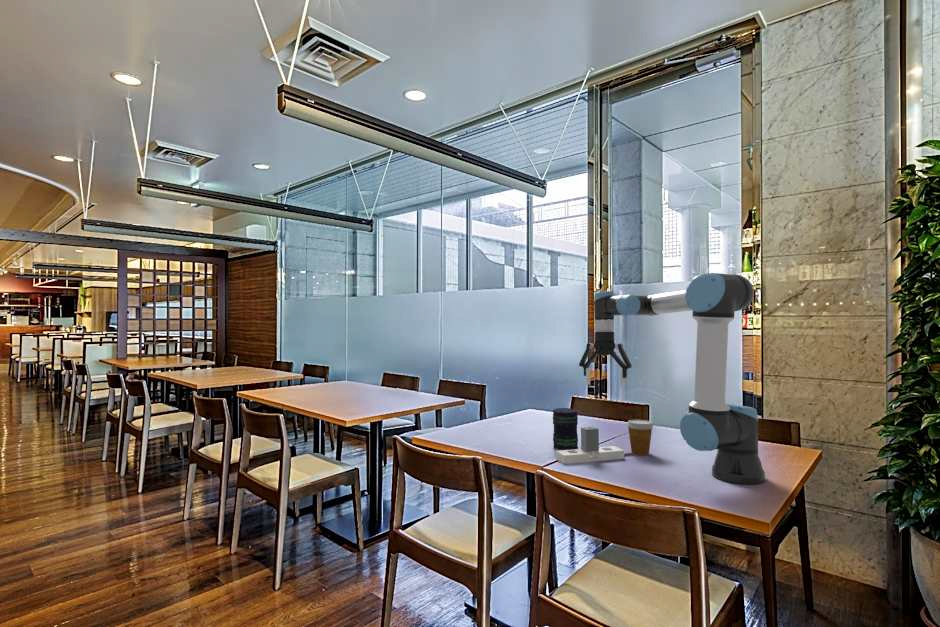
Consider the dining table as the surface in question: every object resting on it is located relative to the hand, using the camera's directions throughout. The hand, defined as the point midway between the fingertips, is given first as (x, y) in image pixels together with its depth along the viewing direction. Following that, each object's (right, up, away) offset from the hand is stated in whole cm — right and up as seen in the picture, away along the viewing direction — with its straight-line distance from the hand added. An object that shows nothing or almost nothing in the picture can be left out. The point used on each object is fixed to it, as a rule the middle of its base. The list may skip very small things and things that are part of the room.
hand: (605, 385), depth 200 cm
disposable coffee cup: (+12, -25, -5) cm, 28 cm away
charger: (-9, -24, -12) cm, 28 cm away
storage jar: (-14, -26, +5) cm, 30 cm away
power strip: (-6, -25, -11) cm, 28 cm away
